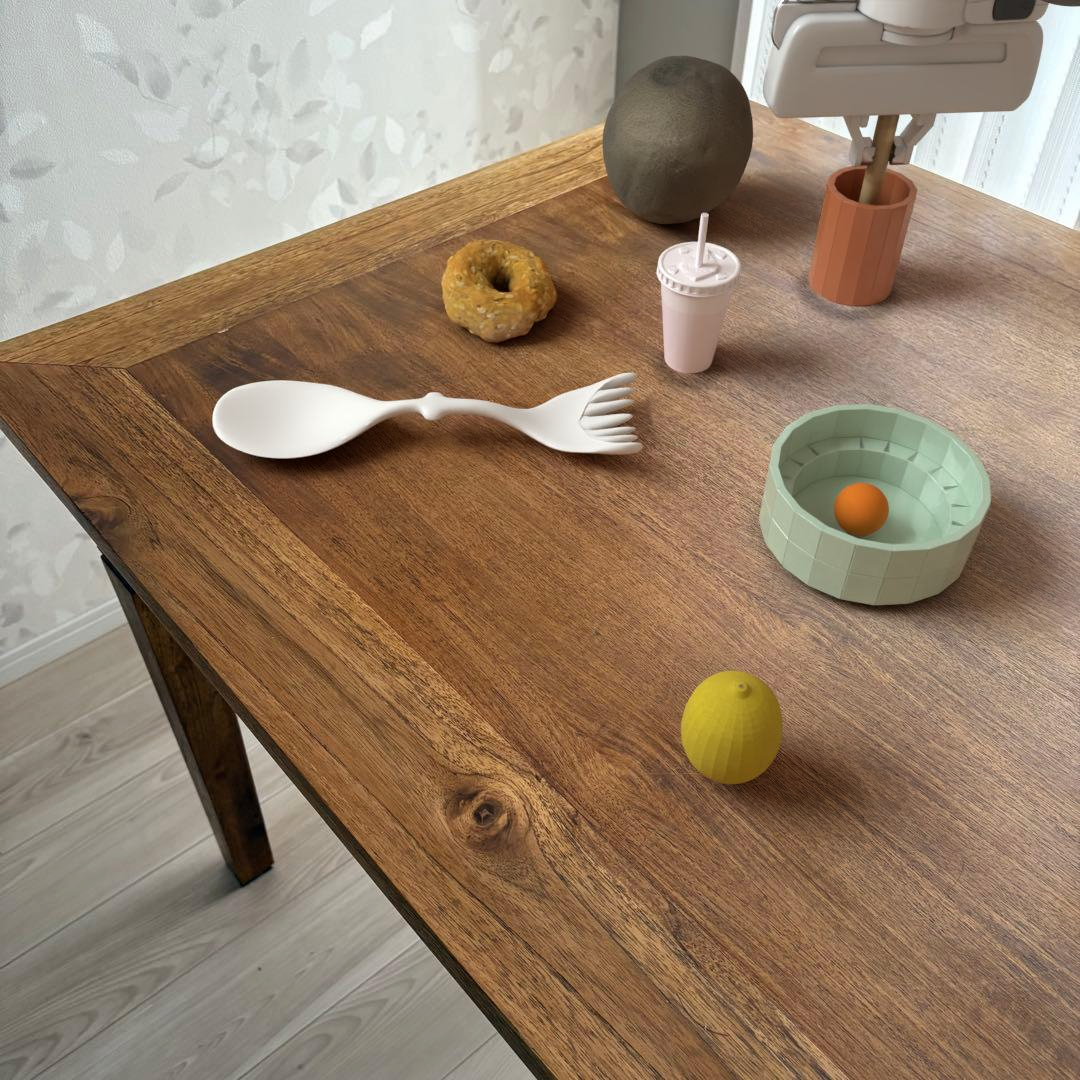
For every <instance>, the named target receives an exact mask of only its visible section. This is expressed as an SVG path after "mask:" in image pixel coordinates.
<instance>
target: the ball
mask: <svg viewBox="0 0 1080 1080" xmlns="http://www.w3.org/2000/svg"><path fill="white" fill-rule="evenodd" d="M888 513H889V505H888V501H887V498H886V496H885V495H884V493H883V492H882V491H881V490H880V489H879V488H877V487H875V486H873V485H871V484H867V483H856V484H852V485H850V486H848V487H846V488H845V489H843V490H842V491H841V492H840V494H839V495H838V497H837V498H836V501H835V504H834V515H835V518H836V520H837V522H838V524H839V525H840V527H841V528H842V529H844V530H845V531H846V532H848V533H850V534H853V535H858V536H864V535H869V534H872V533H874V532H876V531H877V530H879V529H880V528H881V527H882V526H883V525H884V523H885V522H886V520H887V517H888Z"/></svg>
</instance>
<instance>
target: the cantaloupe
mask: <svg viewBox="0 0 1080 1080" xmlns="http://www.w3.org/2000/svg"><path fill="white" fill-rule="evenodd" d="M749 99H750V98H749V95H748V93H747V91H746V90H745V87H744V85H743V84H742V83H741V81H740V80H739V79H738V78H737V77H736V75H735V74H734V73H732V71H731V70H729V69H728V68H727V67H725V66H723V65H721V64H719V63H716V62H713V61H711V60H707V59H703V58H700V57H696V56H690V55H670V56H664V57H661V58H658V59H657V60H653V61H652V62H650V63H648V64H646V65H645V66H644V67H643V68H640V69H639V70H637V71H636V72H635V73H633V74H632V76H631V77H629V79H628V80H627V81H626V82H625V83H624V84H623V85H622V87H621V89H620V90H619V92H618V93H617V95H616V97H615V100H614V102H613V103H612V105H611V107H610V109H609V110H608V112H607V115H606V118H605V122H604V126H603V132H602V157H603V163H604V167H605V171H606V175H607V178H608V181H609V184H610V186H611V188H612V191H613V192H614V194H615V196H616V197H617V198H618V201H619V202H621V203H622V204H623V205H624V206H625V207H626V208H627V209H628V210H629V211H630V212H632V213H633V214H634V215H636V216H637V217H639V218H640V219H642V220H644V221H647V222H651V223H653V224H658V225H671V224H673V225H674V224H685V223H689V222H692V221H694V220H696V219H700V218H701V214H702V213H707V214H709V212H710V211H712V210H713V209H715V208H717V207H718V206H719V205H721V204H722V203H724V202H725V201H726V200H728V198H730V196H731V195H732V194H733V192H734V191H735V190H736V188H737V186H738V185H739V184H740V182H741V180H742V178H743V175H744V173H745V170H746V168H747V166H748V162H749V160H750V157H751V153H752V149H753V144H754V143H753V142H754V120H753V113H752V108H751V104H750V100H749Z"/></svg>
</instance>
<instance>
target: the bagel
mask: <svg viewBox="0 0 1080 1080" xmlns="http://www.w3.org/2000/svg"><path fill="white" fill-rule="evenodd" d="M446 261H447V262H446V268H445V271H444V273H443V275H442V277H441V284H440V285H441V289H442V295H441V298H443V299H442V300H443V304H444V309H445V311H446V314H447V317H448V318H449V320H450V321H451V323H453V324H454V325H456V326H458V327H460V328H461V327H462V328H464V329H466V330H468V331H469V333H470V334H473V335H475V336H476V337H479V338H481V339H482V340H483V341H484V342H487V343H497V344H498V343H500V342H504V341H507V340H510V339H513V338H517V337H521V336H525V335H527V334H528V333H529V332H530V331H531V328H532V327H533V326H534V323H538V322H540V321H542V320H545V319H546V318H547V314H548V313H549V312H550V310H551V309H553V308H554V306H555V304H556V302H557V299H558V293H557V290H556V288H555V285H554V282H553V281H552V277H551V272H550V270H549V268H548V266H547V264H546V263H545V261H544V259H543V258H542V257H540V256H539V255H538V254H537V253H536V252H535V251H533V250H532V249H529V248H527V247H525V246H521V245H518V244H516V243H513V242H511V241H505V240H500V239H486V238H485V239H478V240H475V241H470V242H468V243H467V244H466V245H465V246H463V247H462V248H460V249H459V250H457V251H456V252H455V254H453V255H451V256H450V257H449V258H448V259H447V260H446Z"/></svg>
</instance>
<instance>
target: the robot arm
mask: <svg viewBox="0 0 1080 1080" xmlns="http://www.w3.org/2000/svg"><path fill="white" fill-rule="evenodd" d="M1049 4H1050V5H1055V6H1059V7H1070V8H1071V7H1073V8H1075V7H1080V0H779V1H778V2H777V4H776V5H775V8H774V11H773V16H772V20H771V29H770V38H771V41H772V47H771V49H770V53H769V56H768V61H767V64H766V69H765V73H764V76H763V83H762V94H763V98H764V101H765V103H766V105H767V106H768V108H769V109H770V111H771V112H772V113H773V115H774V116H775V117H776V118H778V119H807V118H808V119H809V118H811V119H813V118H837V117H838V118H840V117H841V118H843V120H844V123H845V126H846V128H847V131H848V133H849V136H850V138H851V143H850V147H849V152H848V160H849V162H850V164H851V166H853V167H855V166H871V165H872V163H873V159H872V157H873V156H874V154H875V150H876V146H875V144H874V143H872V141H873V138H871V136H863V134H862V131H861V128H862V129H863V128H864V129H865V128H867V127H868V124H869V120H870V117H871V116H878V115H900V116H902V115H910V116H911V118H912V119H911V120H910V121H909V122H908V124H907V125H906V126H905V127H904V129H903V130H902V132H901V133H900V134H899V135H895V137H894V141H893V145H892V149H891V153H890V158H889V162H888V165H889V166H906V165H907V166H908V165H909V164H910V162H911V159H912V155H913V151H914V148H915V146H917V145H918V144H919V143H920V142H921V140H922V139H923V138H924V137H925V136H926V135H927V134H928V133H929V132H930V131H931V129H933V127H934V126H935V122H936V118H937V115H938V114H965V113H967V114H969V113H995V112H996V113H999V112H1000V113H1001V112H1014V111H1016V110H1017V109H1019V107H1021V106H1022V105H1023V104H1024V103H1025V102H1026V101H1027V100H1028V99H1029V97H1030V96H1031V93H1032V91H1033V87H1034V85H1035V80H1036V77H1037V74H1038V69H1039V65H1040V61H1041V56H1042V51H1043V46H1044V31H1043V28H1042V26H1041V24H1040V22H1038V20H1040V19H1041V18H1043V16H1044V15H1045V14H1046V12H1047V10H1048V8H1049Z"/></svg>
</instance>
